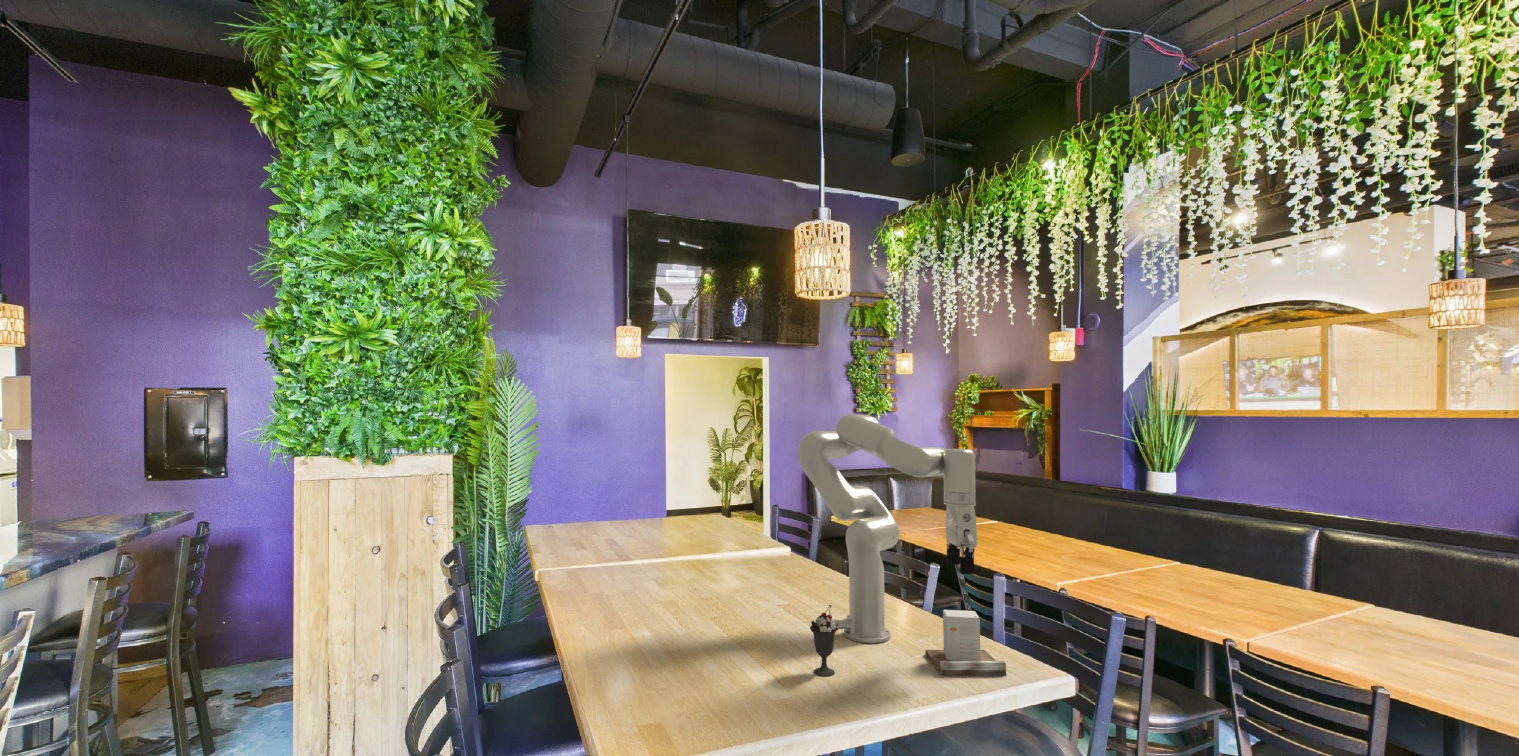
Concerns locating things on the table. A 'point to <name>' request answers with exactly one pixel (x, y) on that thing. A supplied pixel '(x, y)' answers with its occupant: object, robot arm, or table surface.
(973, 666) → the shelf board
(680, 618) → the table surface
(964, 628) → the small box
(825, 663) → the sundae
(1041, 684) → the table surface
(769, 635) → the table surface
